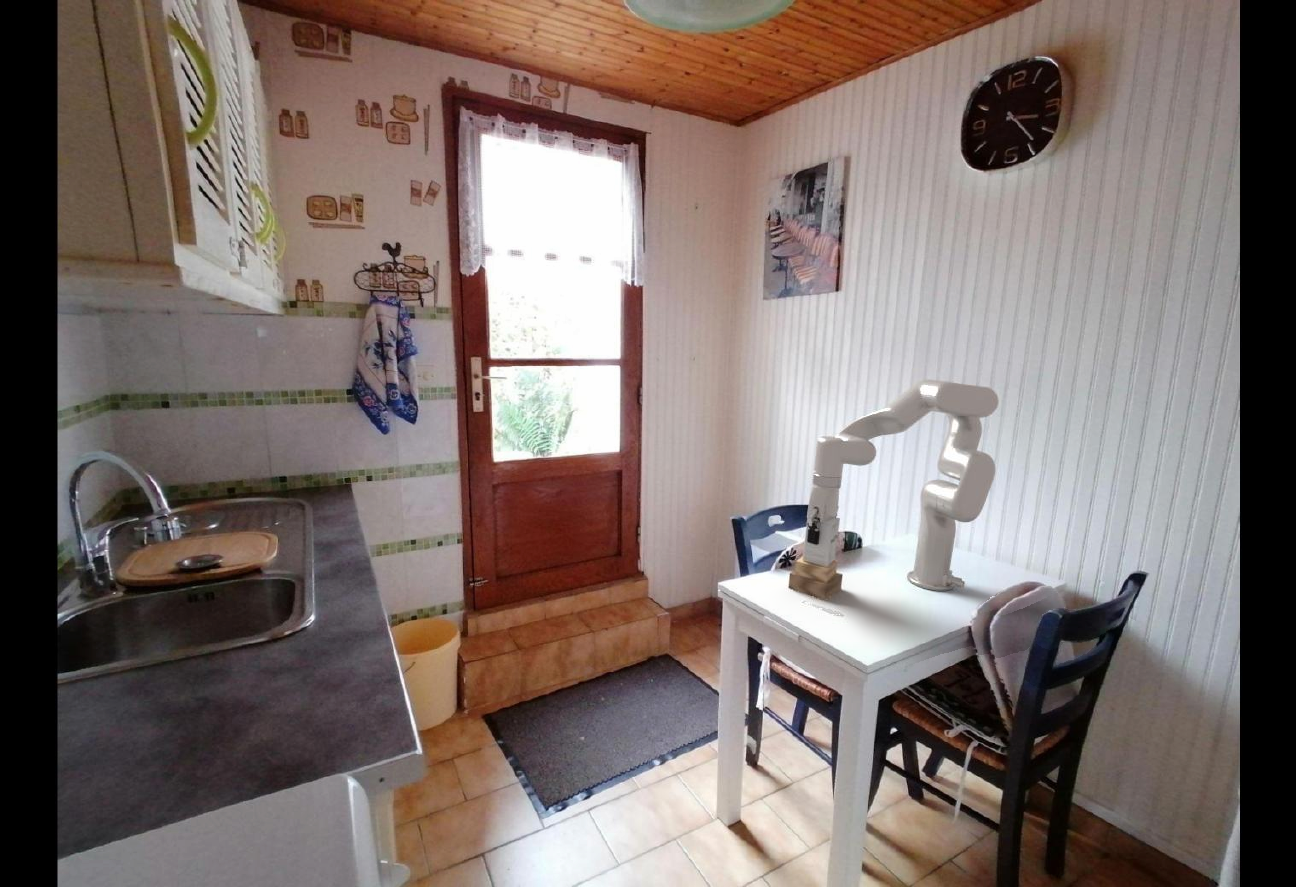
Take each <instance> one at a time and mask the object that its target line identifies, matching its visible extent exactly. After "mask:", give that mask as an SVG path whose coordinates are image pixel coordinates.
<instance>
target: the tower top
mask: <svg viewBox="0 0 1296 887" xmlns="http://www.w3.org/2000/svg"><path fill="white" fill-rule="evenodd" d="M837 569H838V559H835V560H833V561H832V562H831V563H830V564H829V565H828V567H824V566H821V565H817V564H814V563H810V562H806V561H803V555H802V556H800V557H799V558H798V559H797V560H796V561H795V569H794V570H795V575H799V576H802V577H806V578H809V579H813V580H816V581H820V582H823V583H827V582H828V581H829V580H830V579H831V578H832V577H833V576H834V575H835V574H836V572H837Z"/></svg>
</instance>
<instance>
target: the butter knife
mask: <svg viewBox="0 0 1296 887" xmlns="http://www.w3.org/2000/svg"><path fill="white" fill-rule="evenodd" d="M804 602H808V601H807V600H803V602H802V603H804ZM809 606H811V604H810V605H809ZM814 606H815V608H817V609H819V608H822V611H824V612H826V613H828V614H830V615H832V614H834V615H833V616H835V615H836V614H837V615H836V617H837V616H842V617H843V616H844V614H843V613H842V612H840V611H837V610H834V609H831V608H828V609H826V608H827V607H824V606H820V605H817V604H815V603H812V606H811V607H814ZM839 614H840V615H839ZM842 614H843V615H842Z"/></svg>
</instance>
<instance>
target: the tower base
mask: <svg viewBox="0 0 1296 887" xmlns="http://www.w3.org/2000/svg"><path fill="white" fill-rule="evenodd" d="M842 582H843V573H840V572H837V571H836V574H835V575H834V576H833V577H832V578H831V579H830V580H829V581H828V582H827V583H823V582H820V581H816V580H813V579H809V578H806V577H802V576H799V575H795V569H794V570H793V571H791V572H789V579H788V586H787V588H788V589H789V588H790V590H792V589H793V590H792V591H794V592H795V591H796V592H798V591H799V593H801V592H802V593H801V594H804V593H805V594H804V595H806V594H807V596H809V597H812V596H814V597H813V598H815V597H816V599H818V598H819V599H818V600H821V599H822V600H821V601H823V600H824V601H823V602H825V601H827V600H828V599H829V597H830V596H831V597H832V596H833V594H834V595H835V594H836V593H838V592H839V591H840V589H841V590H842V584H843V583H842ZM837 591H838V592H837ZM831 597H830V598H831ZM826 599H827V600H826Z"/></svg>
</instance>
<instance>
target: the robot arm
mask: <svg viewBox="0 0 1296 887" xmlns="http://www.w3.org/2000/svg"><path fill="white" fill-rule="evenodd" d="M999 402H1000V401H999V396H998V394H997V393H996V391H995V390H994V389H992V388H991V387H987V386H980V385H973V384H972V385H971V384H965V383H958V382H953V381H945V380H937V379H936V380H935V379H923V380H922V379H921V380H920V381H918V382H916V383H915V384H913V385H912V386H911V387H909V388H908V389H907V390H906V391H904V392H902V394H901V395H899V396H898V397H897V398H895V399H894V400H893V401H892V402H890V403H889V404H888V405H886V406H885V407H883V408H881V409H879V410H876V411H873V412H871V413H869V414H867V415H864V416H862V417H860V418H857V419H855V420H853V421H852V422H850V424H848V425H846V426H845V427H844V428H842V430H840V431H839V432H838V433H837V434H836V435H835V436H829V435H827V436H826V435H825V436H821V437H818V438H817V441H816V448H815V456H814V457H815V458H814V467H813V478H812V488H811V491H810V497H809V502H808V508H807V515H806V519H807V520H808V523H807V522H806V525H807V524H808V537H807V542H808V543H812V544H815V545H818V544H819V536H820V531H818V530H819V528H820V526H821V523H824V522H826V521H828V520H830V519H832V518H835V517H836V518H838V517H837V516H838V511H839V499H840V498H839V497H840V496H839V494H840V489H841V488H842V486H841V485H842V479H843V469H844V465H850V466H851V465H853V466H860V467H861V466H863V467H864V466H867V465H869V464H871V463H872V462H874V460H875V458H876V457H877V448H876V446H875V445H874V444H873V442H871V441H870V440H872V439H874V438H877V437H881V436H882V437H883V436H889V435H896V434H900V433H904V432H906V431H908V430H909V429H910V428H911V427H912V426H914V425H915V424H916V423H917V422H919V421H920V420H921V419H922V418H924V417H925V416H926V415H928V414H929V413H931V412H936V413H942V414H946V415H947V418H948V430H947V433H946V437H945V440H944V442H943V445H942V448H941V452H940V454H939V456H938V461H937V466H936V467H937V470H938V471H939V472H940V473H941V474H942V475H944V476H945V477H948V478H952V479H954V480H957V481H959V483H958V484H956V483H953V482H950V481H947V480H944V479H933V480H930V481H928V482H927V483H925V484H924V486H923V487H922V489H921V492H920V501H919V502H920V523H919V530H918V531H919V532H918V536H917V544H916V552H915V558H914V565H913V570H911V571H909V572H907V573H906V574H907V575H906V578H907V581H908V582H910V583H912V584H913V585H914V586H917V587H920V588H923V589H926V590H931V591H938V592H946V591H947V592H948V591H950V590H953V588H954V586H957V587H959V588H964V586H965V581H964V580H963V578H961V577H956V576H955V575H953V570H951V566H952V565H951V564H952V557H953V552H954V543H955V539H956V533H957V525H956V522H960V523H971V522H973V521H975V520H976V519H977V518H978V516H980V514H981V512H982V510H983V508H984V506H985V504H986V501H987V498H988V496H989V493H990V491H991V488H992V484H993V481H994V479H995V476H996V464H995V461H994V459H993V457H992V456H991V455H989V454H988V453H986V452H984V451H980V450H978V448H979V444H980V442H981V437H982V433H983V427H982V422H981V418H987V417H989V416H990V415H992V414H994V413H995V412H996V410H997V408H998V406H999ZM815 518H816V519H815ZM818 519H820V520H818ZM807 520H806V521H807ZM814 522H816V523H817V526H816V524H815V523H814Z"/></svg>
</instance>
